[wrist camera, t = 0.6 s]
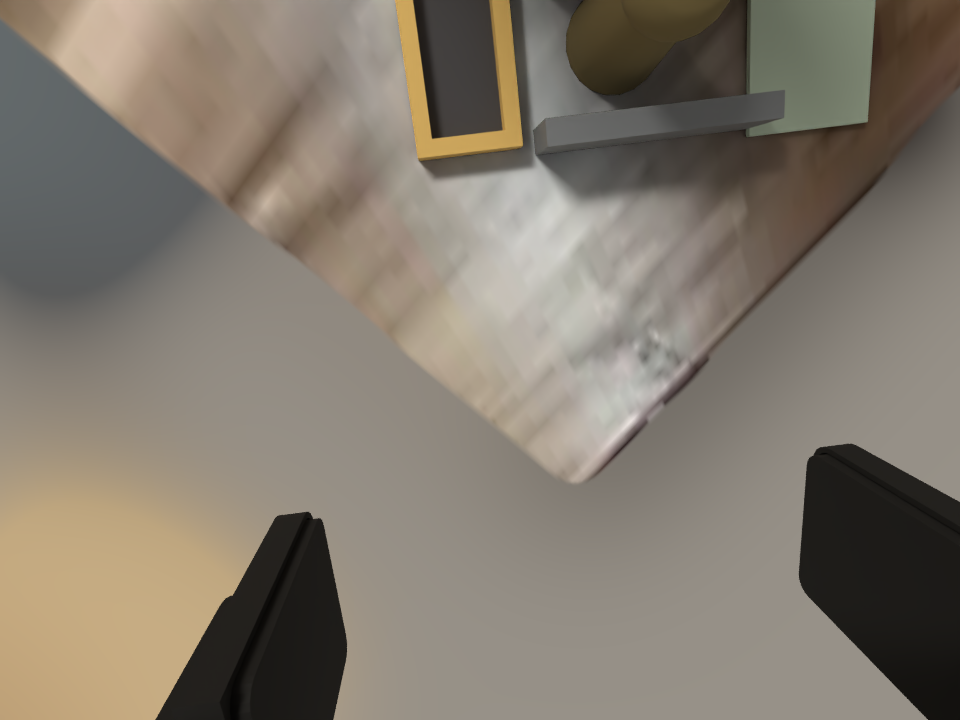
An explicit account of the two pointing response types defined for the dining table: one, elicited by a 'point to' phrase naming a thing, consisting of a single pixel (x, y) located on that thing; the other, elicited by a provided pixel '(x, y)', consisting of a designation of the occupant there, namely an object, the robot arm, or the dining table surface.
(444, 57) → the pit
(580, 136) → the grey parallel walls
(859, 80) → the mat
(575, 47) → the cork
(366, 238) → the dining table surface
